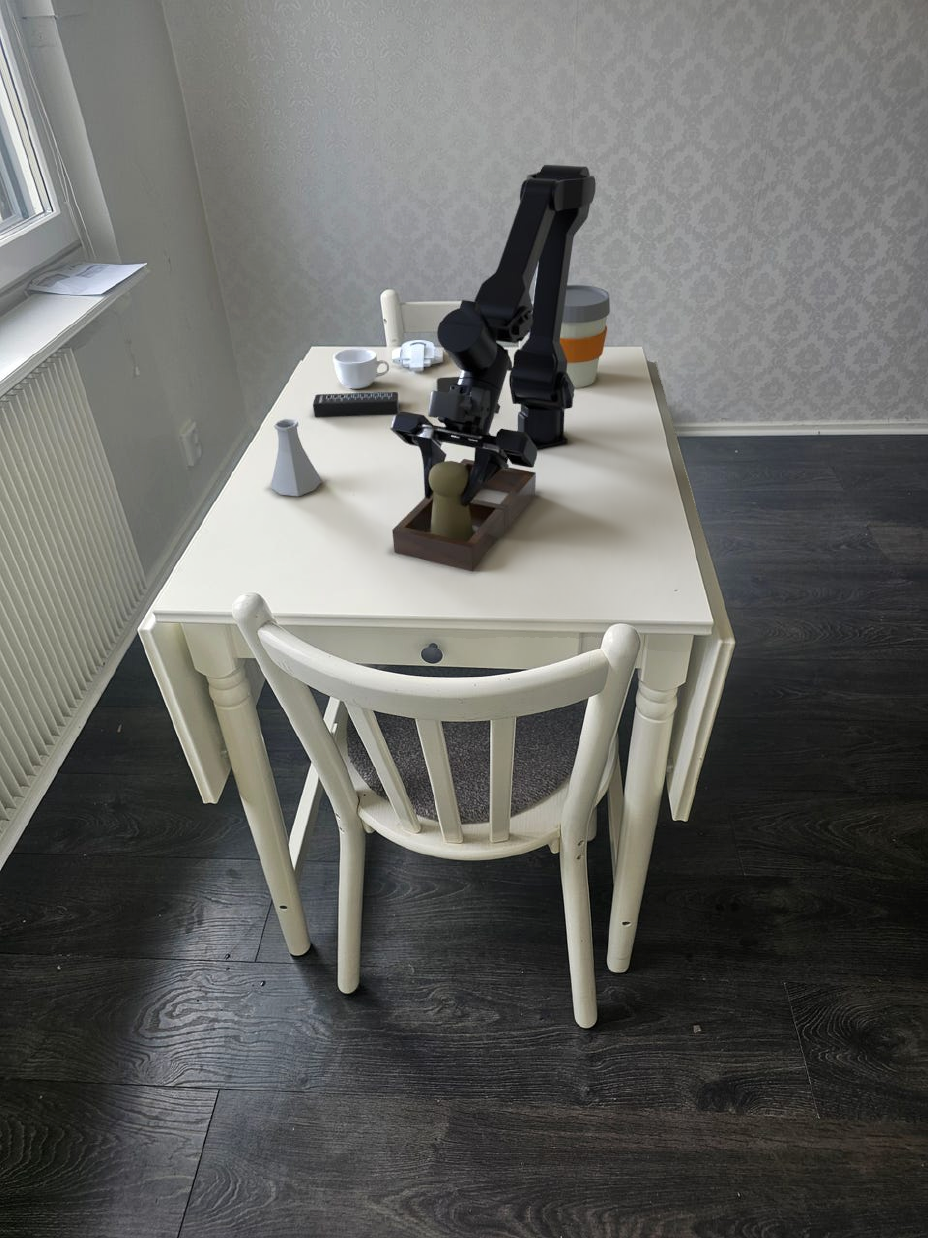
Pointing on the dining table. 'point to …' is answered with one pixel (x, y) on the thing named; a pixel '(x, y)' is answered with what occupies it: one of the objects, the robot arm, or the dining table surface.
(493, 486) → the frame
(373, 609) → the dining table surface
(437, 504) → the olive pawn
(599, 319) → the reusable coffee cup
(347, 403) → the multiport hub
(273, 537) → the dining table surface
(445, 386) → the smartphone
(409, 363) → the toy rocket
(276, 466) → the flask
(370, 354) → the teacup
